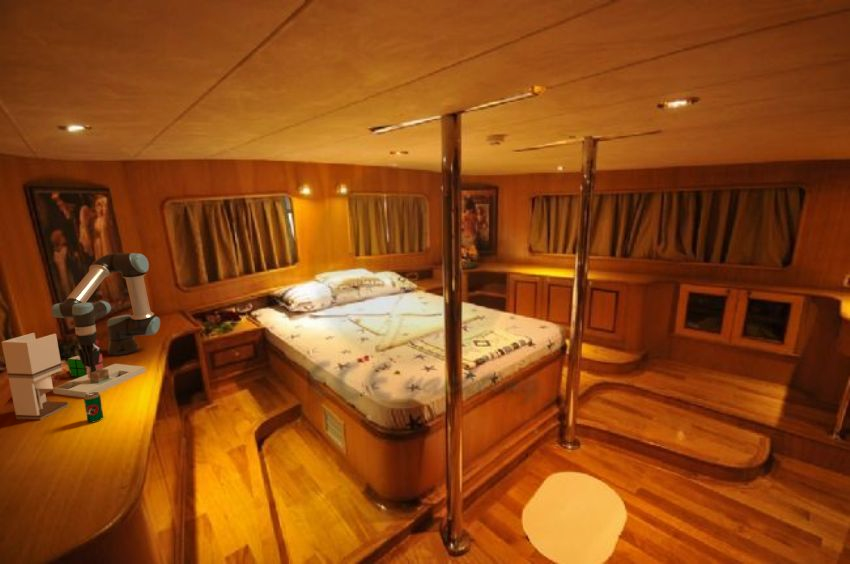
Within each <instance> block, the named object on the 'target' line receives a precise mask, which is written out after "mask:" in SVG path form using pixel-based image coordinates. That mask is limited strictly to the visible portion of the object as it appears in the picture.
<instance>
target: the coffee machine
mask: <svg viewBox="0 0 850 564" xmlns="http://www.w3.org/2000/svg"><path fill="white" fill-rule="evenodd" d="M1 348H2V351H3V352H2V353H3V357H4V360H5V365H6V367H5V368H6V371H7V378H8V382H9V388H10V393H11V397H12V401H13V408H14V413H15V417H16V420H25V419H42V418H44V417H46V416H48V417H50V416H52V415H54V414H56V413H58V412H60V411H61V409H62V410H64V409H66V408H67V407H69V404H68V402H67V401H48V400H47V397H46V394H47V393H49V392H51V391H53V388H54V386H53V385H54V384H53V380H52V375H54V374H57V373H59V372H61V371H63V367H62V366H63V365H62V360H61V355H60V349H59V344H58V337H57V333H52V334H49V335H45V336H42V337H38V338H36V333H35V332H32V333H28V334H24V335H21V336H17V337H14V338H9V339H7V340H4V341H1ZM63 408H64V409H63ZM59 410H60V411H59ZM57 411H58V412H57ZM55 412H56V413H55ZM53 413H54V414H53ZM51 414H52V415H51ZM49 415H50V416H49ZM46 418H47V417H46ZM44 419H45V418H44ZM42 420H43V419H42Z"/></svg>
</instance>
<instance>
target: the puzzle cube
mask: <svg viewBox="0 0 850 564" xmlns="http://www.w3.org/2000/svg"><path fill="white" fill-rule="evenodd" d="M67 364H68V368H69V369H68V371H69V370H70V371H71V376H70V377H75V378H76V377H77V378H79V377H82V376H85V375H87V374H88V373H87V369H86V366H85V364H82V363H81V360H80V357H79V354H78V355H76V356H72V357H70V358H67ZM95 368H96V370H97V369H103V368H105V367H104V359H103V354H102V353H100V355H99V364H96V365H95ZM70 371H69V372H70Z"/></svg>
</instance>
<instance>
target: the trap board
mask: <svg viewBox="0 0 850 564" xmlns="http://www.w3.org/2000/svg"><path fill="white" fill-rule="evenodd" d="M103 369H108V374H109V379H107V380H104V381H102V382H99V383H97V382H91V380H90V378H88V374H87V375H85V376H82V377H79V376H78V377H77V378H74V379H72V380H69V381H66V382H65V383H62V384H60V385H57V386H53V390H52V392H53V394H54V395H60V396H61V395H62V396H69V397H76V398H83V399H84V398H85V395H87V394H89V393H92V392H98V393H99V394H100V393H102V392H104V391H107V390H109V389H111V388H113V387H116V386H118V385H120V384H122V383H124V382H127V381H128V380H131V379H134V378H135V377H137V376H140V375H142V374H144V373H146V367H145V366H140V365H131V364H123V363H113V364H110V365H108V366H105V367H104V368H103Z"/></svg>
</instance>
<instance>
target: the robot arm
mask: <svg viewBox="0 0 850 564" xmlns="http://www.w3.org/2000/svg"><path fill="white" fill-rule="evenodd" d="M149 267H150V264H149V260H148V258H147V257H146V255H144V254H142V253H136V252H127V253H126V252H125V253H124V252H123V253H122V252H121V253H120V252H119V253H117V252H111V253H108V254H104V255H102V256H101V257H99V258H97V259H96V260H95V261H93V262H92V264H91V265H90V266H89V267H88V272H87V273H86V274H85V276H84V277H83V278H82V279H81V281H80V282H78V284H77V285H76V286H75V287H74V289H72V292H70V294H69V295H68V296H67V297H66V299H65V300H64V301H63V302H59V303H54V304H53V305H52V306H51V309H50V311H51V315H52V316H53V317H54V318H59V319H60V318H61V319H68V318H69V319H72V318H73V323H74V329H75V330H74V331H75V339H76V342H77V343H78V345H76V346H75V350H76V351H77V354H78V355H79V357H80V360H81V363H82V364H85V366H86V369H87V373H88V378H90V373H89V372H94V371H96V368H95V365H96V364H99V355H100V352H101V349H102V347H101V346H97V343H96V341H97V340H98V334H97V326H96V321H95V320H96V319H98V318H100V317H103V316H105V315H107V314H109V313H110V312H111V310H112V306H111V304H110V303H109V302H108V301H105V300H101V301H96V302H89V301H88V300H89V299H90V298H91V296H92V295H93V294H94V292H95V291H96V289H98V287H99V286H100V284H101V283H102V282H103V280H104V279H105V278H107V277H109V276H110V275H111V274H113V273H120V275H121V278H123V279H125V282H126V287H127V291H128V296H129V300H130V304H131V309H132V315H131V314H122V315H118V316H113V317H111V318H109V319H107V322H106V323H107V324H106V325H107V326H106V327H107V332H108V337H109V338H108V339H109V344H108V348H107V355H108V356H123V355H127V354H131V353H134V352H137V351H138V350H139V344H138V343H137V340H135V338H134V336H153V335H155V334H158V333H157V332H158V331H159V330H160V326H161V319H160V317H158V316H155V312H153V311H151V306H150V303H149V302H150V301H149V297H148V293H147V292H148V291H147V287H146V283H145V279H144V277H145V276H146V274H147V272H148V271H149V269H150V268H149ZM87 301H88V302H87Z"/></svg>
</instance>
